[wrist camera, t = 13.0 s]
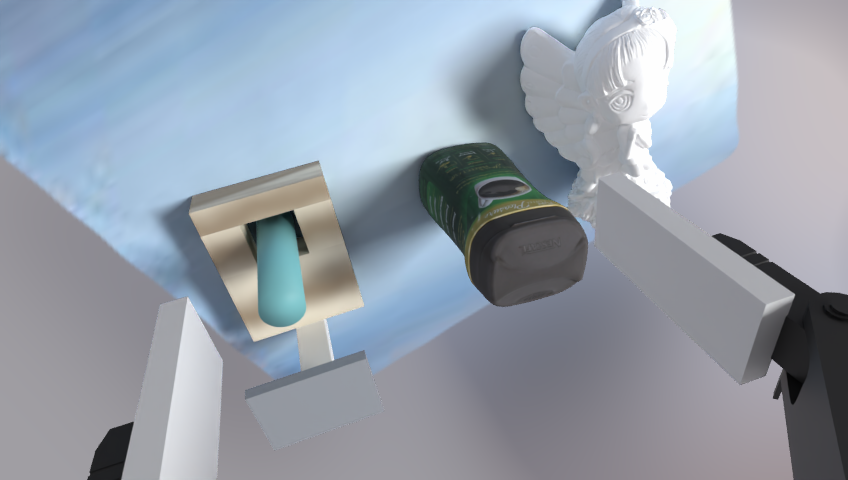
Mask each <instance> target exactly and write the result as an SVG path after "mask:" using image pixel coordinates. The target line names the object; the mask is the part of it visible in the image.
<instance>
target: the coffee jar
mask: <svg viewBox="0 0 848 480" xmlns="http://www.w3.org/2000/svg"><path fill="white" fill-rule="evenodd" d="M419 190H420V197H421V201H422V204H423V206H424V207H425V209H426V210H427V212H428V213H429V214H430V216H431V217H432V218H433V219H434V220H435V222H436V223H437V224H438V225H439V226H440V227H441V228H442V229H443V230H444V231H445V232H446V234H447V235H448V236H449V237H450V238H451V239H452V241H453V242H454V243H455V244H456V245H457V247H458V248H459V249H460V250H461V252H462V253H463V255H464V256H465V264H466V269H467V272H468V276H469V278H470V280H471V282H472V283H473V285H474V286H475V287H476V288H477V289H478V290H479V291H480V292H481V293H482V294H483V295H484V297H485V298H486V299H487V300H488V301H489V302H490V303H492V304H493V305H496V306H501V307H505V306H512V305H517V304H522V303H526V302H530V301H534V300H538V299H541V298H544V297H548V296H551V295H554V294H557V293H560V292H562V291H564V290H566V289H568V288H569V287H571V286H572V285H574V284H575V283H576V282H579V281H580V280H581V279H582V277H583V274H584V270H585V265H586V260H587V252H588V240H587V237H586V234H585V232H584V230H583V228H582V227H581V225H580V223H579V222H578V221H577V220H576V219H575V217H574V216H573V215H572V213H571V212H570V211H569V210H568V209H567V208H566V207H564V206H563V205H561V204H559V203H557V202H555V201H553V200H551V199H549V198H547V197H545V196H544V195H543V194H541V193H540V192H539V191H538V190H537V189H535V188H534V187H533V186H532V185H531V183H530V182H529V181H528V180H527V179H526V178H525V177H524V176H523V175H522V174H521V173H520V171H519V170H518V169H517V168H516V167H515V165H514V164H513V163H512V162H511V160H510V159H509V158H508V157H507V156H506V154H504V153H503V152H502V150H500V149H499V148H498V147H497V146H495V145H493V144H491V143H471V144H464V145H458V146H454V147H449V148H446V149H443V150H440V151H437V152H435V153H433V154H431V155H430V156H429V157H427V159H426V160H425V161H424V163H423V164H422V167H421V169H420V174H419Z"/></svg>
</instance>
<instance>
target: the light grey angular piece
mask: <svg viewBox="0 0 848 480" xmlns="http://www.w3.org/2000/svg"><path fill="white" fill-rule="evenodd" d="M296 330H297V339H298V348H299V357H300V365H301V372H298V373H295V374H292V375H289V376H286V377H283V378H280V379H277V380H274V381H271V382H268V383H265V384H262V385H260V386H256V387H253V388H251V389H248V390H245V400H246V402H247V404H248V405H249V407H250V409H251V410H252V412H253V414H254V416H255V418H256V419H257V421H258V423H259V424H260V426H261V428H262V430H263V431H264V433H265V435H266V436H267V438H268V440H269V442H270V444H271V445H272V447H273V449H274V450H278V449H280V448H283V447H286V446H289V445H292V444H294V443H297V442H300V441H303V440H306V439H309V438H311V437H314V436H317V435H320V434H323V433H325V432H328V431H331V430H334V429H337V428H339V427H342V426H345V425H348V424H351V423H353V422H356V421H359V420H362V419H365V418H367V417H370V416H373V415H376V414H379V413H382V412H384V408H383V404H382V401H381V398H380V395H379V393H378V389H377V386H376V383H375V381H374V378H373V375H372V372H371V369H370V366H369V363H368V360H367V357H366V354H365V351H364V350H363V351H360V352H357V353H354V354H351V355H348V356H345V357H342V358H339V359H336V360H334V356H333V351H332V346H331V341H330V335H329V330H328V325H327V320H326V319H323V320H320V321H317V322H314V323H311V324H308V325H305V326H302V327H299V328H296Z"/></svg>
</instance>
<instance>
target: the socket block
mask: <svg viewBox="0 0 848 480" xmlns="http://www.w3.org/2000/svg"><path fill="white" fill-rule="evenodd" d="M292 210H294V212H295V215H296V218H297V221H298V223H299V226H300V229H301V231H302V234H303V236H302V237H299V238H296V239H297V246H298V253H299V260H300V267H301V274H302V280H303V287H304V294H305V301H306V312H305V314H304V316H303V317H302V318H301V319H300V320H299V321H298V322H297V323H295V324H293V325H290V326H287V327H274V326H270V325H268V324H266V323H265V322H263V321H262V319H261V318H260V316H259V314H258V280H257V246H256V243H255V241H254V239H253V236H252V234H251V232H250V230H249V227H248V225H247V223H250V222H254V221H257V220H261V219H264V218H268V217H271V216H274V215H278V214H281V213H285V212H288V211H292ZM189 215H190V217H191V219H192V221H193V223H194V225H195V227H196V229H197V231H198V233H199V235H200V237H201V239H202V241H203V243H204V245H205V247H206V249H207V251H208V253H209V255H210V257H211V258H212V260H213V262H214V264H215V266H216V268H217V270H218V272H219V274H220V276H221V278H222V280H223V282H224V284H225V286H226V288H227V290H228V292H229V294H230V296H231V298H232V300H233V302H234V304H235V306H236V308H237V310H238V311H239V313H240V315H241V317H242V319H243V321H244V323H245V325H246V327H247V329H248V331H249V333H250V335H251V337H252V339H253V341H254V342H256V341H259V340H262V339H265V338H268V337H271V336H274V335H277V334H280V333H283V332H286V331H290V330H293V329H296V328H299V327H302V326H305V325H308V324H311V323H314V322H317V321H320V320H323V319H327V318H330V317H333V316H336V315H339V314H342V313H345V312H348V311H351V310H354V309H357V308H360V307H364V303H363V300H362V296H361V293H360V290H359V286H358V283H357V280H356V277H355V274H354V271H353V268H352V264H351V261H350V258H349V255H348V252H347V249H346V245H345V242H344V239H343V236H342V233H341V230H340V226H339V223H338V220H337V217H336V214H335V211H334V207H333V204H332V201H331V198H330V195H329V192H328V189H327V185H326V182H325V179H324V176H323V173H322V170H321V166H320V163H319V161H316V162H312V163H309V164H305V165H302V166H298V167H295V168H291V169H287V170H284V171H280V172H277V173H273V174H269V175H266V176H262V177H259V178H255V179H252V180H248V181H244V182H241V183H237V184H234V185H230V186H226V187H223V188H219V189H216V190H212V191H208V192H205V193H201V194H198V195H194V196H192V200H191V205H190V209H189Z"/></svg>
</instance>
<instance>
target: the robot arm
mask: <svg viewBox="0 0 848 480" xmlns="http://www.w3.org/2000/svg"><path fill="white" fill-rule="evenodd" d="M594 246H595V247H596V248H597V249H598V250H599V251H600V252H601V253H602V254H603V255H604V256H605V257H606V258H607V259H608V260H610V261H611V262H612V263H613V264H614V265H615V266H616V267H617V268H618V269H619V270H620V271H621V272H622V273H623V274H624V275H625V276H626V277H627V278H628V279H629V280H630V281H631V282H632V283H634V284H635V285H636V286H637V287H638V288H639V289H640V290H641V291H642V292H643V293H644V294H645V295H646V296H647V297H648V298H649V299H650V300H651V301H652V302H653V303H654V304H656V305H657V306H658V307H659V308H660V309H661V310H662V311H663V312H664V313H665V314H666V315H667V316H668V317H669V318H670V319H671V320H672V321H673V322H674V323H675V324H676V325H677V326H678V327H680V328H681V329H682V330H683V331H684V332H685V333H686V334H687V335H688V336H689V337H690V338H691V339H692V340H693V341H694V342H695V343H696V344H698V346H699V347H700V348H701V349H702V350H704V351H705V352H706V353H707V354H708V355H709V356H710V357H711V358H712V359H713V360H714V361H715V362H716V363H717V364H718V365H719V366H720V367H721V368H722V369H723V370H724V371H725V372H726V373H728V374H729V375H730V376H731V377H732V378H733V379H734V380H735V381H736V382H737V383H738V384H739V385H742V384H745V383H747V382H750V381H753V380H756V379H758V378H761V377H763V376H765V375H766V373H767V371H768V368H769V365H770V362H771V360H772V359H773V360H774V361H775V362H776V363H777V364H778V365H780V366H781V367H782V368H783V370H782V373H781V375H780V378H779V380H778V383H777V386H776V388H775V391H774V396H773V399H778V398H779V396H780V393H781V392H782V394H783V401H784V410H785V418H786V425H787V433H788V440H789V447H790V455H791V463H792V470H793V478H794V480H848V295H845V294H841V293H829V292H826V293H821V294H820V293H818V292H817V291H815V290H814V289H812V288H811V287H809V286H808V285H806V284H805V283H803V282H802V281H800V280H799V279H797V278H796V277H794V276H793V275H791V274H790V273H788V272H787V271H785V270H784V269H782V268H781V267H779V266H778V265H776V264H775V263H773V262H769V259H767V258H766V257H764V256H763V255H761V254H760V253H759V254H757V253H756V251H755V250H754V249H752V248H751V247H749V246H747V245H746V244H745V243H743V242H741V241H740V240H737V239H734V238H732V237H729V236H726V235H723V234H721V233H720V234H716V235H713V236H710V235H709V234H708V233H706V232H705V231H703V230H702V229H700V228H699V227H697V226H696V225H695V224H693V223H692V222H690V221H689V220H687V219H686V218H684V217H683V216H682V215H680V214H679V213H677V212H676V211H674V210H673V209H672V208H670V207H669V206H667V205H666V204H664V203H663V202H662V201H660V200H659V199H657V198H656V197H654V196H653V195H651V194H650V193H649V192H647V191H646V190H644V189H643V188H641V187H640V186H639V185H637V184H636V183H634V182H633V181H631V180H630V179H628V178H627V177H626V176H624V175H623V174H621V173H620V172H618V173H614V174H611V175H607V176H604V177H600V178H598V193H597V210H596V227H595V244H594ZM222 373H223V360H222V358H221V357H220V354H219V353H218V351H217V349H216V347H215V345H214V344H213V342H212V340H211V338H210V336H209V334H208V333H207V331H206V329H205V327H204V325H203V323H202V322H201V320H200V318H199V316H198V314H197V312H196V311H195V309H194V307H193V305H192V303H191V301H190V300H189V298H188V296H187V297H183V298H180V299H176V300H173V301H169V302H166V303H163V304H160V307H159V312H158V316H157V321H156V325H155V330H154V334H153V339H152V343H151V348H150V352H149V357H148V361H147V366H146V371H145V375H144V379H143V384H142V388H141V393H140V398H139V402H138V406H137V411H136V416H135V420H134V422H131V423H128V424H125V425H122V426H119V427H116V428H112V429H110V430H109V431H108V433H107V435H106V436H105V438H104V439H103V441H102V442H101V443H100V445H99V446H98V448H97V449H96V451H95V455H94V458H93V462H92V465H91V469H90V476H89V477H88V479H87V480H217V468H218V448H219V430H220V411H221V392H222Z"/></svg>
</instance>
